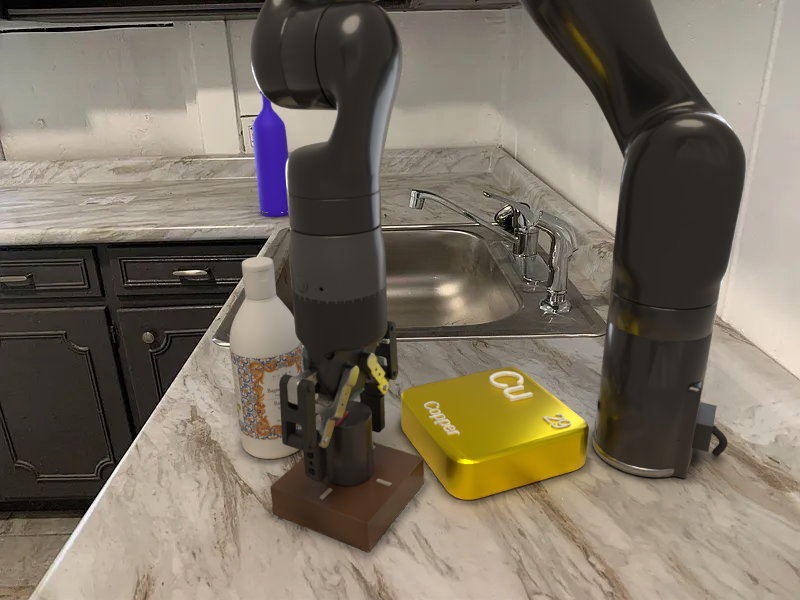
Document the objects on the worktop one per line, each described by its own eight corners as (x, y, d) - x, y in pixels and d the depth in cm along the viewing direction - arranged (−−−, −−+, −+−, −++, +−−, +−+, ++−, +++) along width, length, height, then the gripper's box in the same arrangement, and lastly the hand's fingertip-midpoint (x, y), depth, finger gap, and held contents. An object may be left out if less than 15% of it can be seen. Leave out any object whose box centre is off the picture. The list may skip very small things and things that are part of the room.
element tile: (395, 423, 70) (394, 384, 68) (513, 395, 75) (515, 359, 73) (456, 507, 57) (457, 462, 55) (594, 466, 62) (599, 424, 60)
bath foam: (257, 470, 62) (234, 278, 55) (232, 437, 68) (209, 258, 60) (320, 446, 66) (307, 263, 58) (292, 417, 71) (277, 246, 64)
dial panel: (424, 484, 60) (424, 455, 59) (368, 553, 52) (367, 521, 50) (336, 455, 64) (334, 428, 63) (272, 514, 56) (269, 484, 55)
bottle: (277, 208, 168) (266, 89, 157) (299, 212, 163) (290, 90, 152) (253, 214, 162) (240, 91, 151) (276, 218, 157) (264, 92, 146)
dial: (339, 452, 60) (336, 393, 57) (381, 463, 58) (380, 403, 56) (315, 479, 56) (310, 417, 54) (359, 491, 54) (356, 428, 52)
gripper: (326, 319, 43) (339, 514, 49) (421, 261, 54) (422, 424, 60) (241, 301, 46) (262, 485, 52) (348, 250, 58) (355, 405, 63)
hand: (348, 452), depth 56 cm, fingers open, 8 cm apart
